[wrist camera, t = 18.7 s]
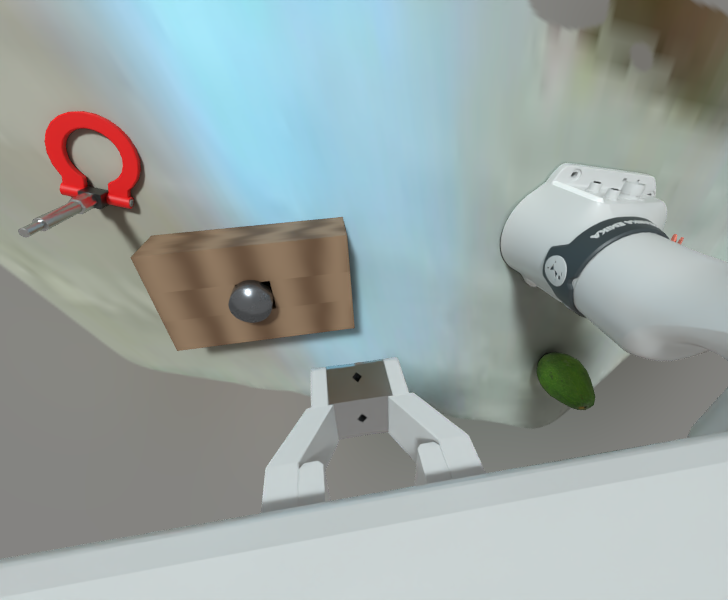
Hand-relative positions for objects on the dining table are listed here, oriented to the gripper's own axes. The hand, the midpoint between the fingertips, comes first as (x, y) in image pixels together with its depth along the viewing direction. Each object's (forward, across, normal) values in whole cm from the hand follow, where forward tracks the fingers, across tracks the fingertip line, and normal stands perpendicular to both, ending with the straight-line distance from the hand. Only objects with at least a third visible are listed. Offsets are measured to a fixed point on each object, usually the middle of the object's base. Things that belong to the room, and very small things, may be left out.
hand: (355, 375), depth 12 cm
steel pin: (+34, +10, +14) cm, 38 cm away
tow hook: (+34, +24, -2) cm, 42 cm away
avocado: (+34, -40, +40) cm, 66 cm away
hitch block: (+34, +10, +14) cm, 38 cm away
